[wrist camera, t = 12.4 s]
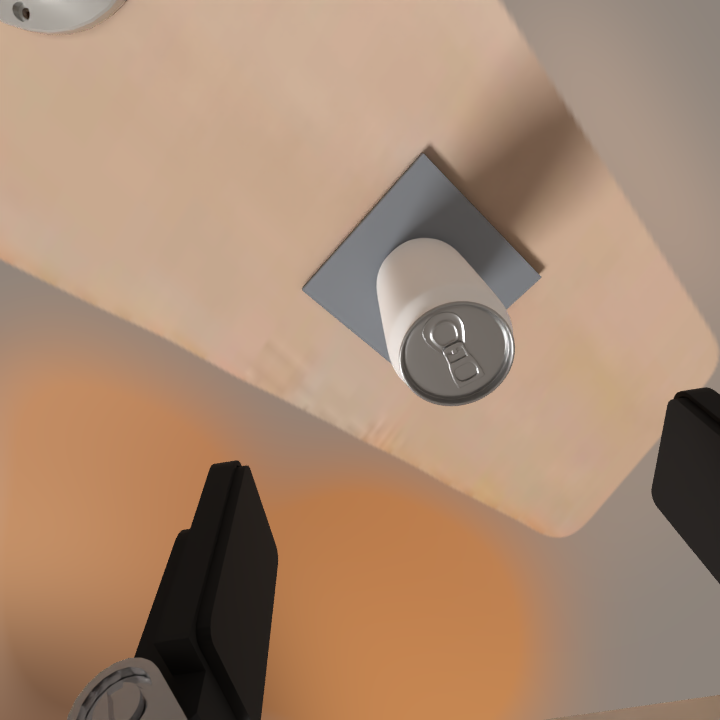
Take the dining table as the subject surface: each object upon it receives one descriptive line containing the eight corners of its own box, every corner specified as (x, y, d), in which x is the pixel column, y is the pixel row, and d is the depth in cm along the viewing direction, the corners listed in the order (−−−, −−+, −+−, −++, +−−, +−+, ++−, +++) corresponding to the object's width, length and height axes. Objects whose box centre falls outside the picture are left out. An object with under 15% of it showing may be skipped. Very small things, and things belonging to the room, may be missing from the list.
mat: (302, 287, 34) (302, 290, 34) (422, 152, 31) (423, 153, 30) (419, 384, 38) (420, 387, 38) (538, 274, 35) (541, 277, 34)
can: (442, 217, 32) (491, 266, 21) (481, 297, 35) (543, 376, 24) (358, 266, 33) (365, 336, 23) (402, 339, 36) (427, 433, 25)
